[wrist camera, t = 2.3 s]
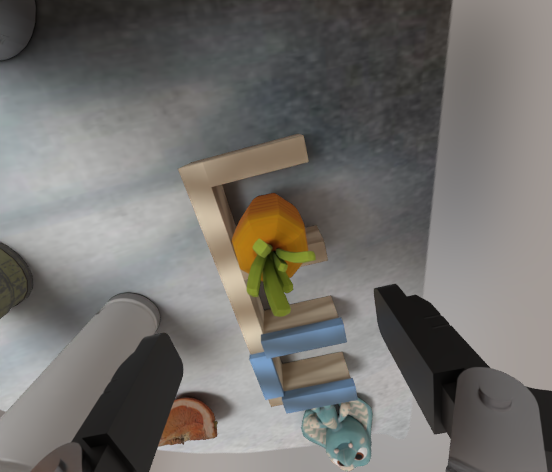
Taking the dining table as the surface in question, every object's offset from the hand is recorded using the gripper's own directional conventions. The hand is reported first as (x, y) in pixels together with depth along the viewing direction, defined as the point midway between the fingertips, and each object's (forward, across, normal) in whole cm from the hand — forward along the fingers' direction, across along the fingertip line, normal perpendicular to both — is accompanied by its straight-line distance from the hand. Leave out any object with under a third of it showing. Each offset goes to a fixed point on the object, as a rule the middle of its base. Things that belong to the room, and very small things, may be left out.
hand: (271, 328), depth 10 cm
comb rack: (+17, 0, +9) cm, 19 cm away
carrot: (+17, 0, 0) cm, 17 cm away
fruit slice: (+18, +18, +26) cm, 36 cm away
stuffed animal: (+18, -1, +32) cm, 37 cm away
